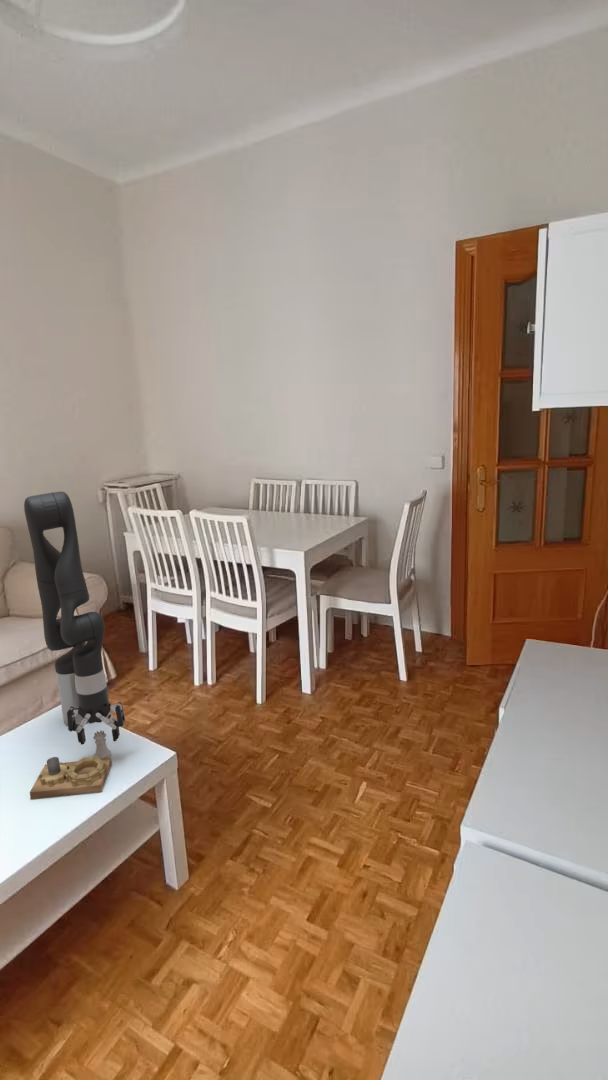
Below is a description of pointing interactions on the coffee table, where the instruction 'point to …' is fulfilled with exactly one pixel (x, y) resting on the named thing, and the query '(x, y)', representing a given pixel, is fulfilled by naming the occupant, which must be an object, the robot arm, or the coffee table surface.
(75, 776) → the gear board
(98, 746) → the rook chess piece
